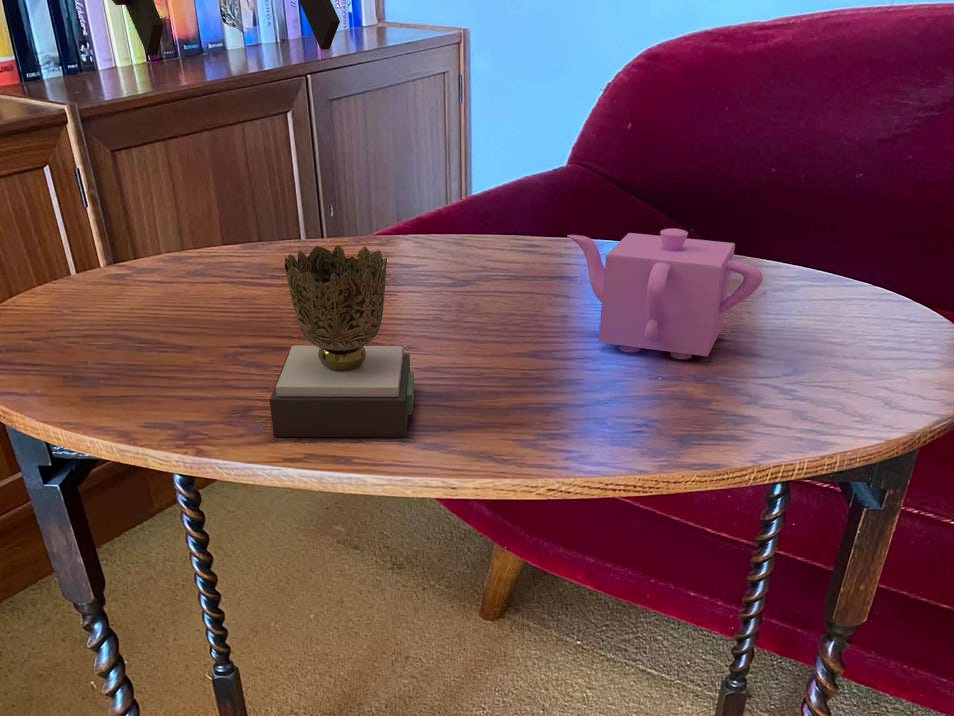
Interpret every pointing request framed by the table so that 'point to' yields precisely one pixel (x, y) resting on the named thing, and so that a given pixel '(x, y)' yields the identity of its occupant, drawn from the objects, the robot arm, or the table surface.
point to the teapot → (665, 291)
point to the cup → (338, 302)
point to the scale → (343, 395)
